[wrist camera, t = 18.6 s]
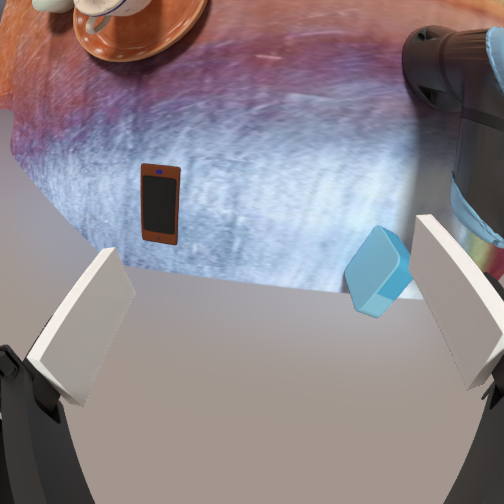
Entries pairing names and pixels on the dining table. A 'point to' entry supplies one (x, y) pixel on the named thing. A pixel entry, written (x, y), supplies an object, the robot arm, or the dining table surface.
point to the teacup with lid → (107, 11)
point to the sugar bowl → (53, 5)
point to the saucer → (139, 30)
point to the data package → (378, 272)
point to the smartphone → (160, 203)
